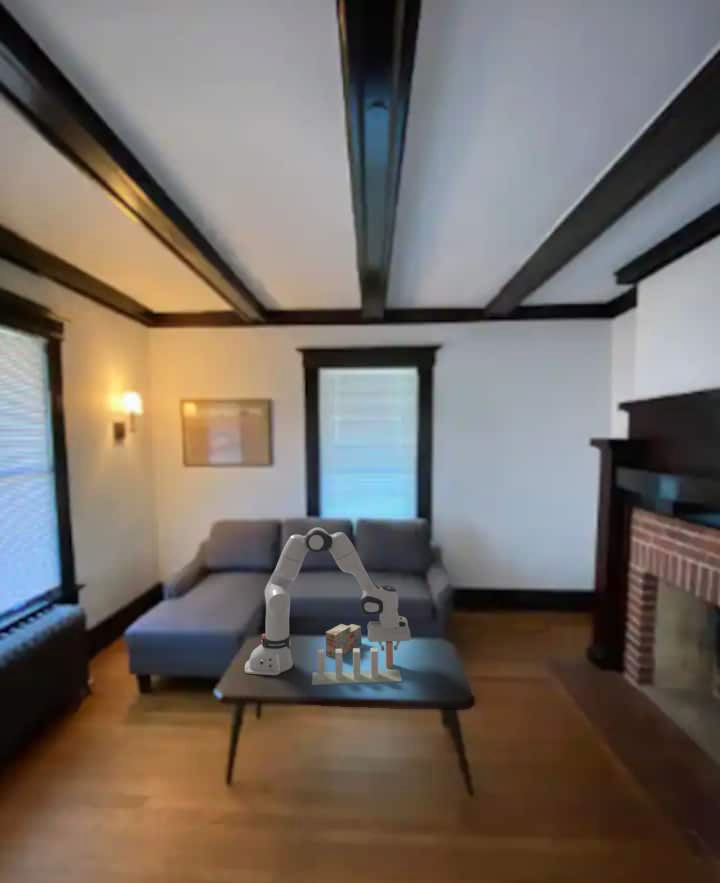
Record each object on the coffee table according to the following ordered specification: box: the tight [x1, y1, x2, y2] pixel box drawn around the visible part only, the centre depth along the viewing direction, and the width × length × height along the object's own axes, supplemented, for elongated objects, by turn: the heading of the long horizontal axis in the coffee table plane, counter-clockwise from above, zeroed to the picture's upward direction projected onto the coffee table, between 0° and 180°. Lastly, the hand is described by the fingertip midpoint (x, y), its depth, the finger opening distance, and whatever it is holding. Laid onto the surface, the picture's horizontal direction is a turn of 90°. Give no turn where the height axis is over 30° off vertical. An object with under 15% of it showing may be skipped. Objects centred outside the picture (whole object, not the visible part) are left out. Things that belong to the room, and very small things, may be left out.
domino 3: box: [352, 647, 361, 679], centre depth 216 cm, size 3×4×12 cm
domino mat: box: [311, 669, 403, 686], centre depth 216 cm, size 40×10×1 cm, turn 93°
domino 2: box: [335, 649, 343, 680], centre depth 215 cm, size 3×4×12 cm
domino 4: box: [370, 647, 379, 678], centre depth 216 cm, size 3×4×12 cm
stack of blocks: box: [325, 623, 362, 660], centre depth 244 cm, size 21×6×12 cm, turn 143°
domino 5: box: [384, 641, 394, 669], centre depth 227 cm, size 3×4×12 cm
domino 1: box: [317, 648, 326, 680], centre depth 215 cm, size 3×4×12 cm
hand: (389, 649), depth 227 cm, fingers open, 5 cm apart
